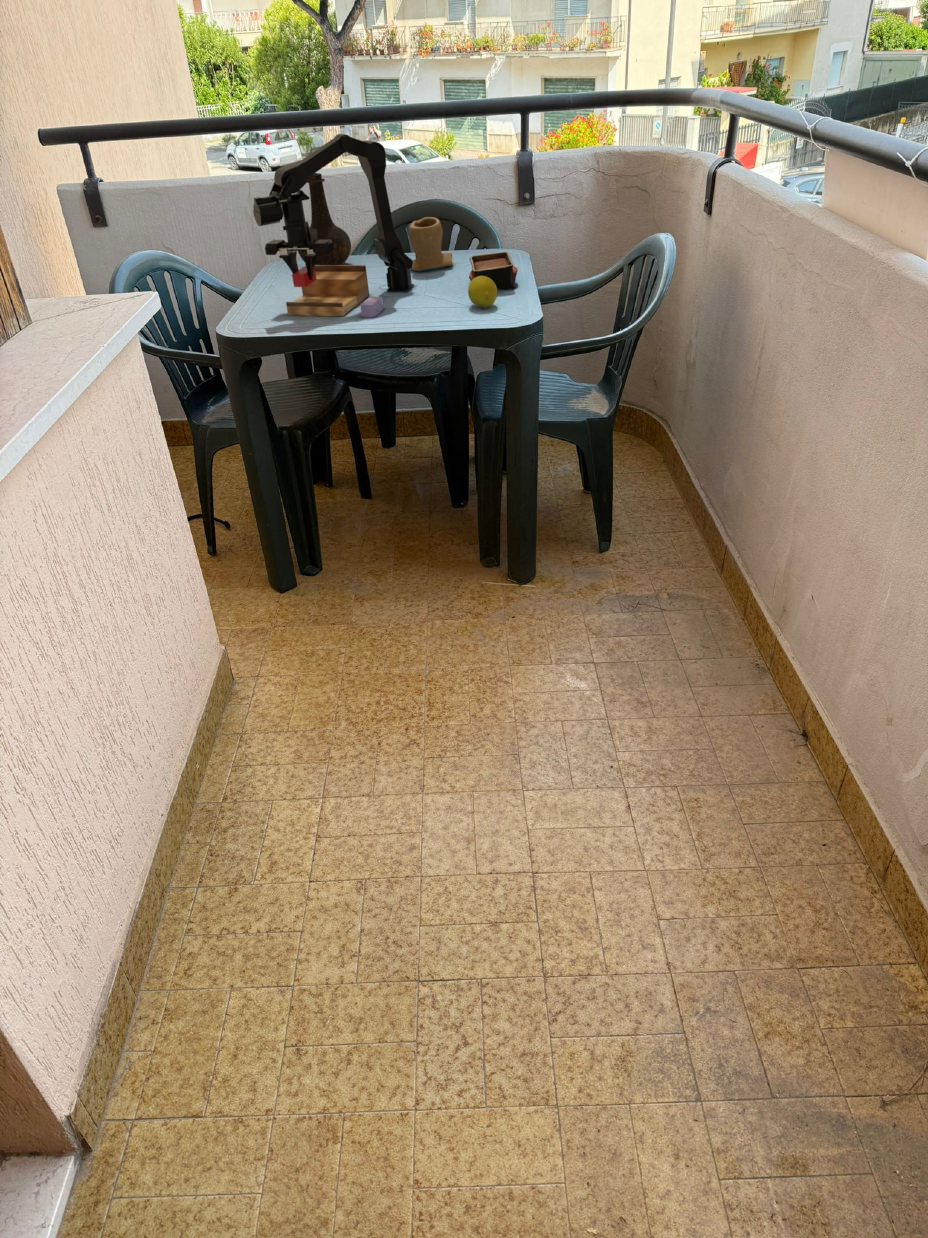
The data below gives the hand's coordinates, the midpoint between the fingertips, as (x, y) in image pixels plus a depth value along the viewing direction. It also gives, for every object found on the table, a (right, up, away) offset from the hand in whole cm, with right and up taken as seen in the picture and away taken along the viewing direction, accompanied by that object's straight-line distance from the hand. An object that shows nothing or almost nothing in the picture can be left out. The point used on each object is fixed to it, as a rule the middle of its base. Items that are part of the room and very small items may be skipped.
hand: (304, 279), depth 237 cm
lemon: (+50, -9, -4) cm, 51 cm away
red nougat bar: (0, -1, +1) cm, 1 cm away
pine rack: (+6, -5, +7) cm, 10 cm away
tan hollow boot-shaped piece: (+35, +17, +33) cm, 51 cm away
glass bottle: (-1, +22, +44) cm, 49 cm away
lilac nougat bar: (+19, -10, -2) cm, 22 cm away
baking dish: (+54, +3, +13) cm, 56 cm away
